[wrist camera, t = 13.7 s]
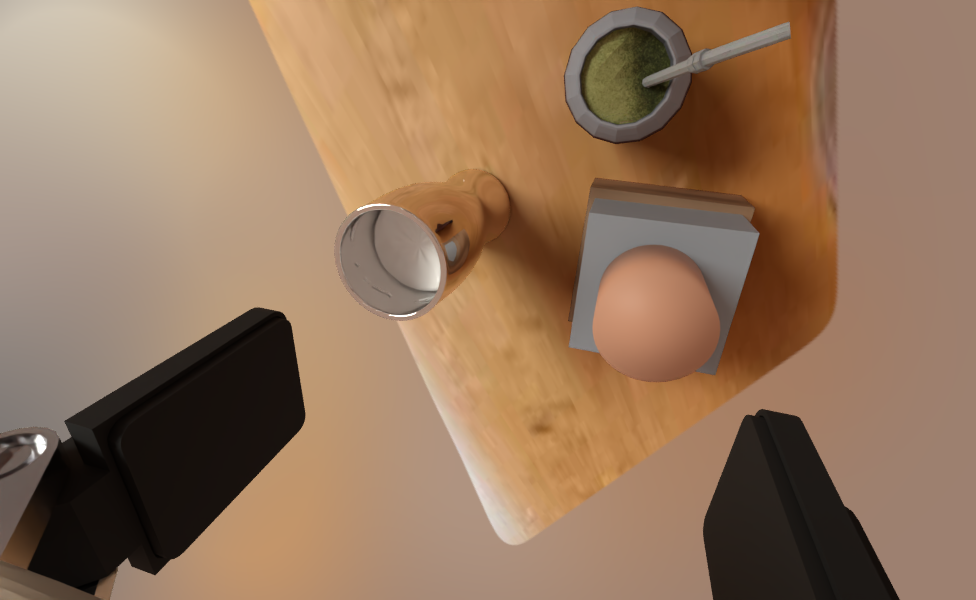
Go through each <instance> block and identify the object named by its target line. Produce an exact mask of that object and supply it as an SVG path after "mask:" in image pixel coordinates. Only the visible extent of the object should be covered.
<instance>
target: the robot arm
mask: <svg viewBox="0 0 976 600" xmlns="http://www.w3.org/2000/svg"><path fill="white" fill-rule="evenodd" d="M304 421H305V408H304V402H303V395H302V389H301V383H300V377H299V371H298V364H297V358H296V352H295V345H294V340H293V333H292V327H291V323H290V322H289V321H288V320H287V319H286V317H285V315H284V314H283V313H281V312H279V311H274V310H269V309H264V308H253V309H251V310H249V311H247V312H246V313H244V314H242V315H241V316H239V317H237V318H236V319H234V320H232V321H231V322H229V323H227V324H226V325H224V326H222V327H221V328H219V329H217V330H216V331H214V332H212V333H211V334H209V335H207V336H206V337H204V338H202V339H201V340H199V341H197V342H196V343H194V344H192V345H191V346H189V347H187V348H186V349H184V350H182V351H180V352H179V353H177V354H175V355H174V356H172V357H170V358H169V359H167V360H165V361H164V362H162V363H160V364H159V365H157V366H155V367H154V368H152V369H151V370H149V371H147V372H146V373H144V374H142V375H140V376H139V377H137V378H135V379H134V380H132V381H130V382H129V383H127V384H125V385H124V386H122V387H120V388H119V389H117V390H115V391H114V392H112V393H110V394H109V395H107V396H106V397H104V398H102V399H100V400H99V401H97V402H95V403H94V404H92V405H91V406H89V407H87V408H85V409H84V410H82V411H80V412H79V413H77V414H76V415H74V416H72V417H71V418H69V419H67V420H65V424H66V426H67V428H68V430H69V432H70V434H71V436H72V437H71V438H70V439H68V440H66V441H65V442H63V443H62V442H61V440H60V438H59V436H58V435H57V433H56V431H54V430H51V429H49V428H45V427H28V428H19V429H15V430H11V431H7V432H4V433H0V600H110V597H111V593H112V589H113V585H114V582H115V578H116V575H117V571H118V566H119V565H120V564H121V563H122V562H123V561H124V560H125V559H127V558H128V559H129V561H130V564H131V566H132V567H135V568H137V569H140V570H143V571H145V572H148V573H151V574H153V575H156V574H157V573H158V572H159V571H160V570H161V569H162V568H163V567H164V566H165V565H166V564H167V562H168V561H170V559H175V558H177V557H178V556H180V555H181V554H182V553H183V552H184V551H185V550H186V549H187V548H188V547H189V546H190V545H191V544H192V543H193V542H194V541H195V540H196V539H197V538H198V536H200V535H201V533H202V532H203V531H204V530H205V529H206V528H207V527H208V526H209V525H210V524H211V523H212V522H213V521H214V520H215V519H216V518H217V517H218V516H219V515H220V514H221V513H222V511H223V510H224V509H225V508H226V507H227V506H228V505H229V504H230V503H231V502H232V501H233V500H234V499H235V498H236V497H237V496H238V495H239V494H240V493H241V491H242V490H243V489H244V488H245V487H246V486H247V485H248V484H249V483H250V482H251V481H252V480H253V479H254V478H255V477H256V476H257V475H258V474H259V472H261V470H262V469H263V468H264V467H265V466H266V465H267V464H268V463H269V462H270V461H271V460H272V459H273V458H274V457H275V456H276V455H277V453H279V452H280V450H281V449H282V448H283V447H284V446H285V445H286V444H287V443H288V442H289V441H290V440H291V439H292V438H293V437H294V436H295V435H296V434H297V433H298V432H299V430H300V429H301V428H302V426H303V424H304ZM703 537H704V544H705V550H706V557H707V563H708V569H709V576H710V582H711V588H712V595H713V600H900V599H899V597H898V596H897V594H896V592H895V590H894V588H893V586H892V584H891V582H890V580H889V578H888V576H887V574H886V573H885V571H884V568H883V567H882V565H881V563H880V561H879V559H878V557H877V555H876V553H875V551H874V549H873V547H872V545H871V543H870V542H869V540H868V538H867V536H866V534H865V532H864V530H863V528H862V526H861V524H860V522H859V520H858V519H857V517H856V516H855V514H854V513H853V512H852V511H851V510H849V509H848V508H847V507H845V506H844V504H843V502H842V500H841V499H840V496H839V494H838V492H837V490H836V488H835V486H834V485H833V482H832V480H831V478H830V476H829V474H828V472H827V471H826V468H825V466H824V464H823V462H822V460H821V458H820V456H819V454H818V452H817V450H816V448H815V446H814V444H813V442H812V440H811V438H810V436H809V434H808V432H807V430H806V429H805V426H804V424H803V423H802V421H801V419H800V418H799V417H797V416H794V415H789V414H784V413H779V412H773V411H769V410H764V409H761V410H759V411H758V412H757V413H756V415H755V416H752V415H746V416H745V417H744V419H743V421H742V423H741V426H740V428H739V431H738V434H737V436H736V439H735V442H734V444H733V446H732V449H731V452H730V454H729V457H728V459H727V462H726V465H725V467H724V470H723V472H722V475H721V477H720V480H719V482H718V485H717V488H716V490H715V493H714V495H713V498H712V501H711V503H710V506H709V508H708V511H707V513H706V516H705V519H704V527H703Z"/></svg>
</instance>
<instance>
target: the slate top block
mask: <svg viewBox="0 0 976 600" xmlns="http://www.w3.org/2000/svg"><path fill="white" fill-rule="evenodd" d="M759 234H760V233H759V232H758V231H757V230H756V229H755V228H754V227H753V226H752V225H751V224H750V223H749V221H748V220H747V219H746V218H745V217H744V216H743V215H740V214H731V213H722V212H713V211H705V210H696V209H687V208H678V207H669V206H661V205H652V204H643V203H634V202H626V201H617V200H608V199H599V198H595V200H594V202H593V204H592V207H591V209H590V212H589V217H588V224H587V230H586V237H585V243H584V250H583V257H582V263H581V270H580V277H579V283H578V290H577V296H576V303H575V310H574V316H573V323H572V329H571V336H570V343H569V347H571V348H576V349H582V350H587V351H592V352H597V353H600V352H599V351H598V349H597V347H596V344H595V341H594V337H593V327H592V326H593V318H594V312H595V307H596V301H597V296H598V290H599V285H600V281H601V278H602V275H603V273H604V271H605V270H606V268H607V267H608V265H609V264H610V263H611V262H612V261H613V260H614V259H615V258H616V257H618V256H619V255H620V254H622V253H624V252H625V251H627V250H630V249H632V248H635V247H638V246H643V245H664V246H668V247H672V248H674V249H677V250H679V251H681V252H683V253H684V254H686V255H687V256H689V257H690V258H691V259H692V260H693V261H694V262H695V263H696V264H697V266H698V267H699V269H700V270H701V272H702V275H703V277H704V280H705V282H706V285H707V287H708V290H709V292H710V295H711V298H712V300H713V303H714V305H715V308H716V310H717V313H718V316H719V320H720V337H719V341H718V344H717V346H716V349H715V351H714V352H713V354H712V356H711V357H710V358H709V359H708V361H707V362H706V363H705V364H704V365H703V366H701V367H700V368H699V369H697V370H696V372H701V373H707V374H712V375H715V374H716V371H717V368H718V364H719V361H720V358H721V355H722V352H723V348H724V345H725V342H726V339H727V336H728V333H729V329H730V326H731V323H732V320H733V317H734V313H735V310H736V307H737V304H738V301H739V298H740V294H741V291H742V288H743V285H744V282H745V278H746V275H747V272H748V269H749V266H750V263H751V259H752V256H753V253H754V250H755V247H756V243H757V240H758V237H759Z"/></svg>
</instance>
